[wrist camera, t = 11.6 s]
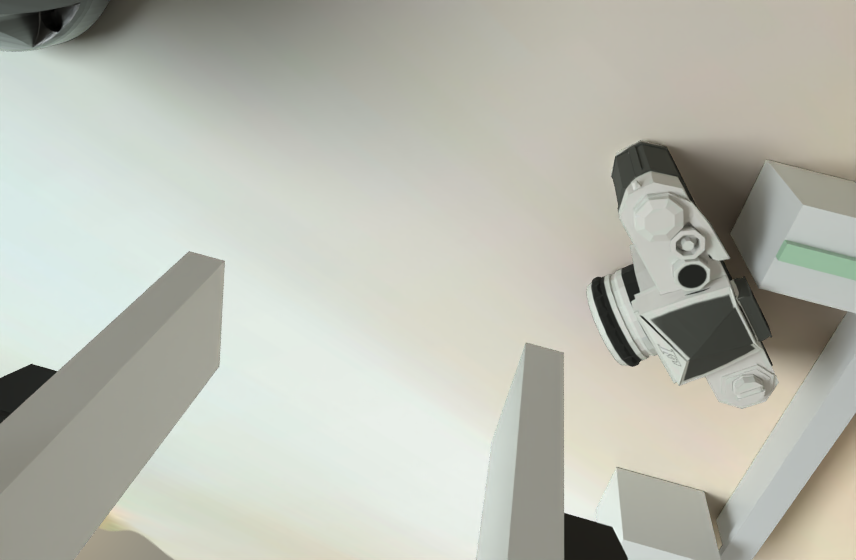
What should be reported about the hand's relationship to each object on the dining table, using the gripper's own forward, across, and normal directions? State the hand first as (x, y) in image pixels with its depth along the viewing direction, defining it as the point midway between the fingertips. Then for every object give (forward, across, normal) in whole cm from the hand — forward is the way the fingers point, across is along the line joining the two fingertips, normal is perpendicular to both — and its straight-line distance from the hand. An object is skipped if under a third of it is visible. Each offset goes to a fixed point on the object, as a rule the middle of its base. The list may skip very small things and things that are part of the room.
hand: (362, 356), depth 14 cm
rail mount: (+30, +21, -17) cm, 40 cm away
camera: (+30, +13, -9) cm, 34 cm away
